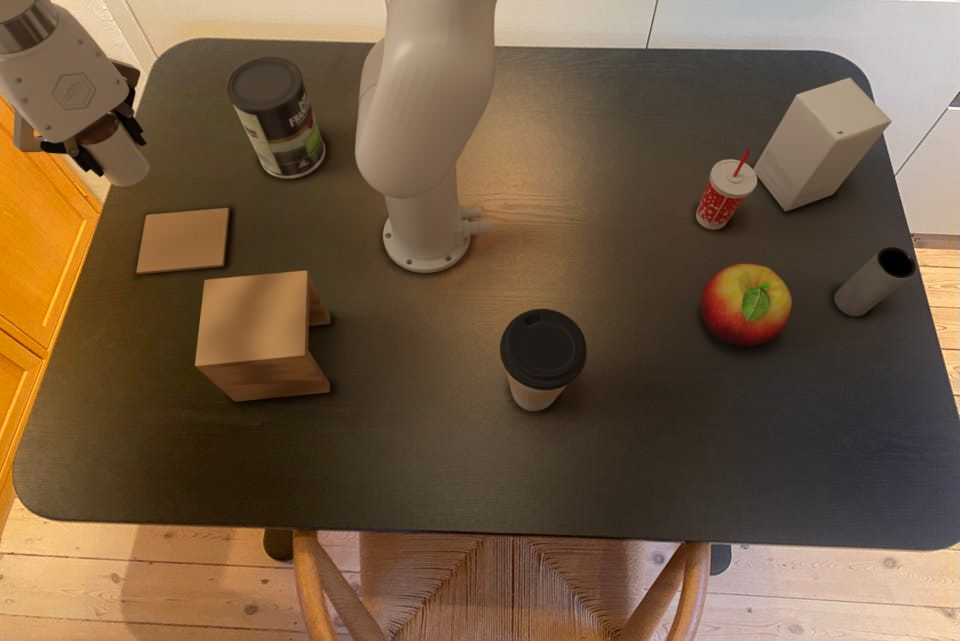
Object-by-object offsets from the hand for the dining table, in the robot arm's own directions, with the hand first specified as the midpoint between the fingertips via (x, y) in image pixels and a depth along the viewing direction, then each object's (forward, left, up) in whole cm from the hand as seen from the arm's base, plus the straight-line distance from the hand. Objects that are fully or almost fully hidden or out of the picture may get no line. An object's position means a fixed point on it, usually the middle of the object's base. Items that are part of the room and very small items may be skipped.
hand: (115, 153), depth 71 cm
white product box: (-91, -1, -19) cm, 93 cm away
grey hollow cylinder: (-92, +20, -19) cm, 96 cm away
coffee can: (-15, -15, -19) cm, 28 cm away
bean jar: (0, 0, -3) cm, 3 cm away
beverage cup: (-77, +4, -19) cm, 79 cm away
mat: (0, 0, -18) cm, 18 cm away
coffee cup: (-47, +28, -19) cm, 58 cm away
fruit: (-75, +21, -19) cm, 80 cm away
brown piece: (-15, +20, -18) cm, 31 cm away
